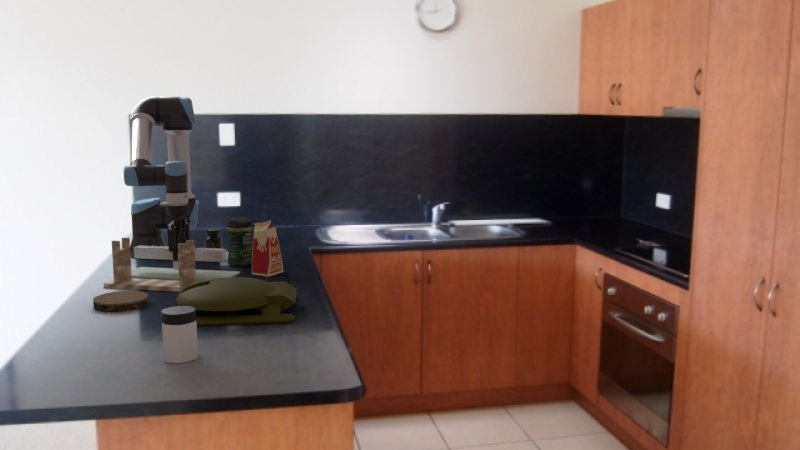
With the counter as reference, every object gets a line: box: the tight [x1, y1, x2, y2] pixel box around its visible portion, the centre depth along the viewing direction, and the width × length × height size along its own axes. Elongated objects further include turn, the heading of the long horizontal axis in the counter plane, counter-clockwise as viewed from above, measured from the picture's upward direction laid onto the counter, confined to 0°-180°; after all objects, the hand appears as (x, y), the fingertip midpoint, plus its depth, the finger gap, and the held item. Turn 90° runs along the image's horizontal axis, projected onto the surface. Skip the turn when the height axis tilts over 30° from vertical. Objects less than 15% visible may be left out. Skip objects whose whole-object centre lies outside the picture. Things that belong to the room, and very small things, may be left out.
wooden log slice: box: [92, 290, 150, 313], centre depth 226 cm, size 16×16×3 cm
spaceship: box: [175, 276, 298, 327], centre depth 220 cm, size 35×31×10 cm
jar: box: [160, 305, 199, 364], centre depth 178 cm, size 9×8×12 cm
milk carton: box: [251, 220, 284, 278], centre depth 270 cm, size 9×9×20 cm
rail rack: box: [103, 237, 200, 293], centre depth 249 cm, size 33×9×16 cm, turn 79°
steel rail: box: [133, 245, 227, 263], centre depth 266 cm, size 34×4×4 cm, turn 79°
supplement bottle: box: [204, 228, 223, 249], centre depth 296 cm, size 7×7×12 cm
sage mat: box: [131, 266, 241, 282], centre depth 267 cm, size 40×14×1 cm, turn 79°
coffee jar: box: [226, 216, 254, 267], centre depth 285 cm, size 10×8×19 cm
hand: (180, 268), depth 267 cm, fingers closed on steel rail, 4 cm apart
